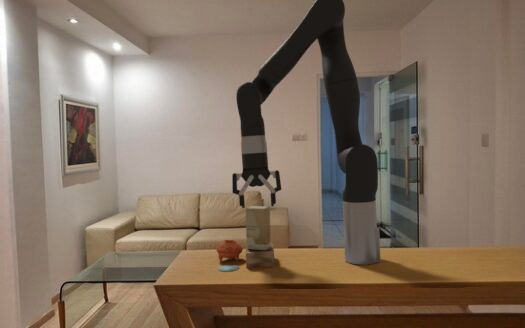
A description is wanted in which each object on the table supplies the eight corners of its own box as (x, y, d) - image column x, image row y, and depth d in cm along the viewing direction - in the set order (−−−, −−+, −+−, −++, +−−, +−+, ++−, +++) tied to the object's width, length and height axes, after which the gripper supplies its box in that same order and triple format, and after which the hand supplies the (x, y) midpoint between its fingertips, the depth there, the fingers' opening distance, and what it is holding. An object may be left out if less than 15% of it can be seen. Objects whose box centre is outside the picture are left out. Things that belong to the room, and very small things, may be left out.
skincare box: (246, 249, 112) (244, 207, 112) (252, 246, 116) (250, 205, 116) (266, 250, 110) (264, 208, 109) (272, 247, 114) (270, 205, 113)
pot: (217, 256, 122) (221, 235, 121) (241, 261, 121) (245, 240, 121) (211, 262, 114) (216, 239, 113) (237, 268, 113) (241, 245, 113)
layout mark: (239, 264, 111) (239, 264, 111) (238, 271, 105) (238, 270, 105) (219, 265, 111) (219, 265, 111) (216, 272, 105) (216, 271, 105)
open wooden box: (273, 257, 118) (272, 243, 118) (274, 266, 108) (273, 251, 108) (247, 258, 118) (246, 244, 118) (246, 268, 108) (245, 253, 108)
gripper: (229, 153, 109) (233, 210, 109) (279, 150, 109) (283, 207, 109) (231, 153, 116) (234, 206, 117) (277, 150, 116) (281, 203, 117)
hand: (258, 206), depth 113 cm, fingers open, 8 cm apart
